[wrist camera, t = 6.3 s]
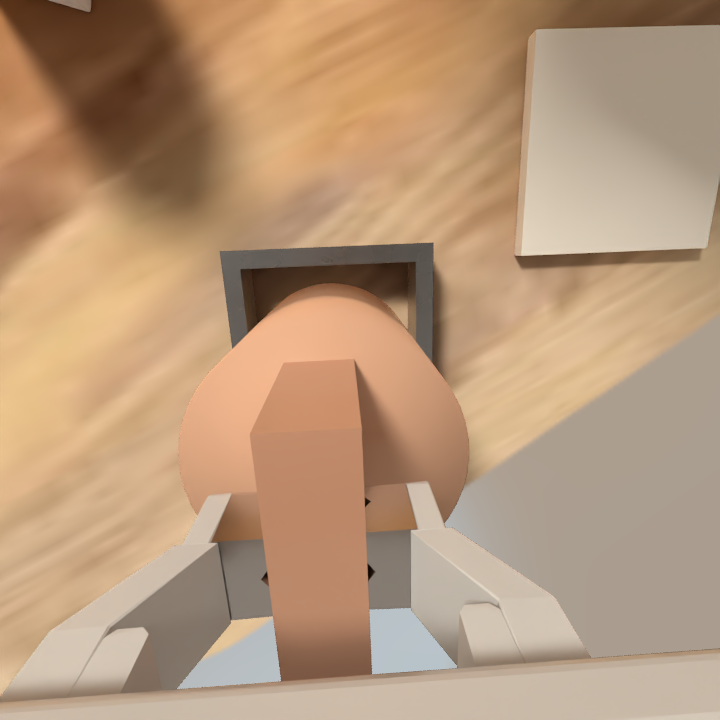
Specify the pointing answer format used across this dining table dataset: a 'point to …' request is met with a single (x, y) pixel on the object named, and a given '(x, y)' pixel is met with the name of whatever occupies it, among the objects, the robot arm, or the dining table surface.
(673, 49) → the tile
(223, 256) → the holder
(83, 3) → the syrup box
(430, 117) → the dining table surface
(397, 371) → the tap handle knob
